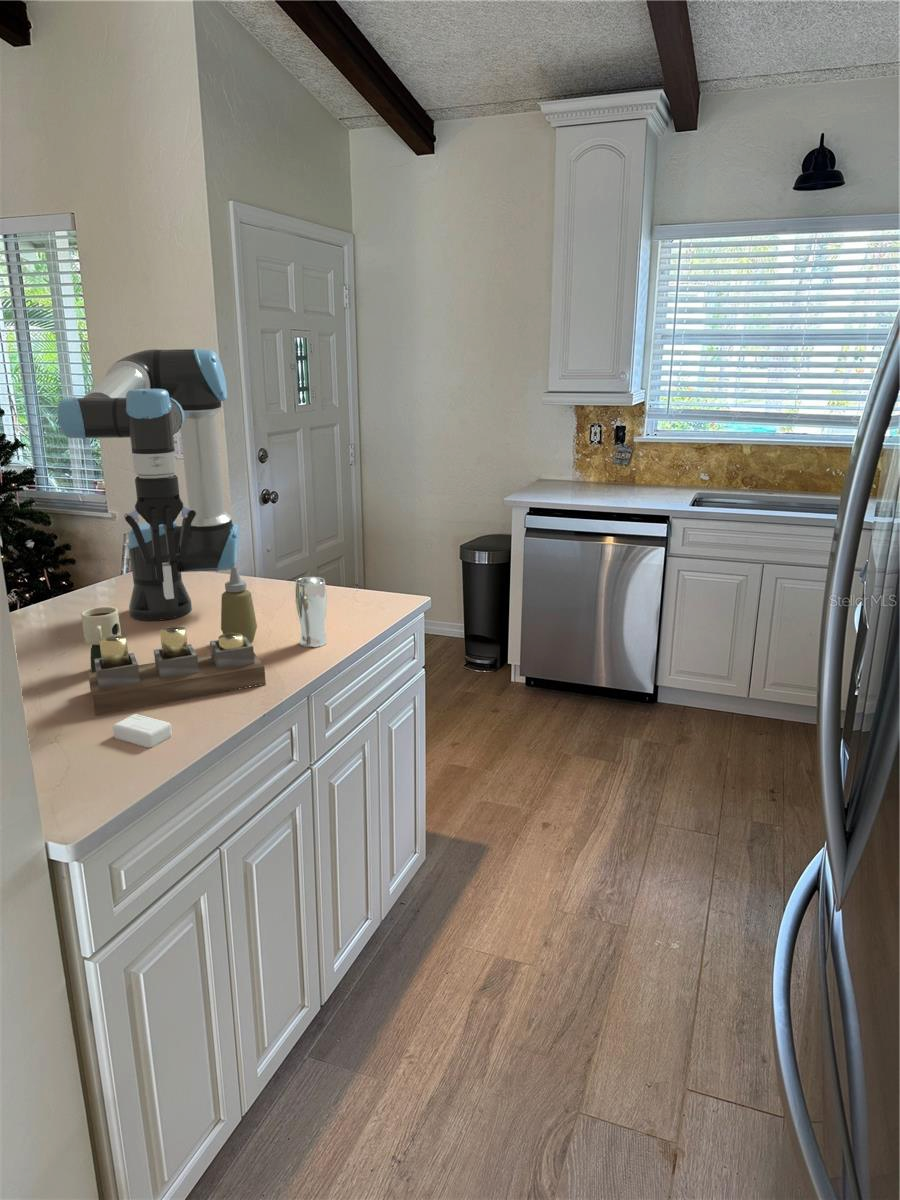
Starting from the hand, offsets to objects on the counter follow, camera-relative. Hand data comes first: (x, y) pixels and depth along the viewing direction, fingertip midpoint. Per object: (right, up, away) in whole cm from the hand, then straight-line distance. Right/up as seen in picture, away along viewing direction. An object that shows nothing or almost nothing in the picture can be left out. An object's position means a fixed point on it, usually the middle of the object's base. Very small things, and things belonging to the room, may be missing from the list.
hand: (169, 597), depth 159 cm
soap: (0, -25, -14) cm, 29 cm away
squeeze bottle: (+6, -11, +31) cm, 33 cm away
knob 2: (+10, -13, +9) cm, 19 cm away
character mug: (-18, -16, +15) cm, 28 cm away
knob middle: (0, -11, +4) cm, 12 cm away
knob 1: (-10, -13, -1) cm, 16 cm away
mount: (0, -18, +6) cm, 19 cm away
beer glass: (+23, -11, +31) cm, 40 cm away
